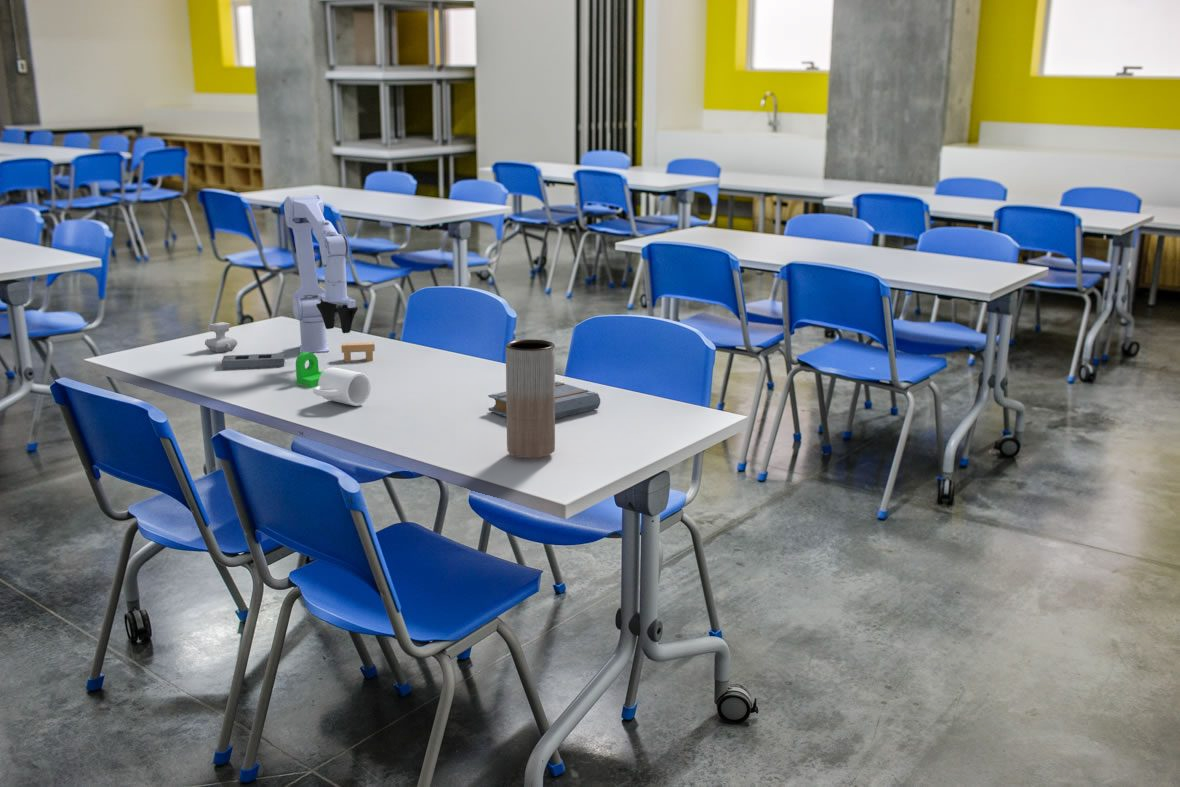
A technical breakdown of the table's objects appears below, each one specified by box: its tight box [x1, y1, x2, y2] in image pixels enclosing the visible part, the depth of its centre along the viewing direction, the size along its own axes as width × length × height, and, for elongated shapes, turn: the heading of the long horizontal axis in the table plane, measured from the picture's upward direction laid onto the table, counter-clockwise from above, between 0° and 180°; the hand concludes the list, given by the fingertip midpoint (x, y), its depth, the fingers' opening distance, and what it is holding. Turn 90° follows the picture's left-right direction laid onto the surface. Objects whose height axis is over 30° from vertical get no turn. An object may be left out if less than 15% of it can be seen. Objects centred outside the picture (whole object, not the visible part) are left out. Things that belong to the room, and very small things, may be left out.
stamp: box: [204, 321, 238, 353], centre depth 318 cm, size 9×7×8 cm
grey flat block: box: [221, 352, 286, 371], centre depth 303 cm, size 7×16×2 cm, turn 103°
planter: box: [505, 339, 556, 459], centre depth 228 cm, size 10×10×23 cm
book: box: [487, 380, 601, 419], centre depth 262 cm, size 21×16×5 cm
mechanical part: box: [295, 352, 325, 389], centre depth 286 cm, size 12×6×8 cm, turn 141°
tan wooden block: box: [340, 341, 376, 363], centre depth 309 cm, size 3×9×5 cm, turn 103°
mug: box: [312, 366, 372, 407], centre depth 265 cm, size 12×10×8 cm
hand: (338, 330), depth 300 cm, fingers open, 7 cm apart
